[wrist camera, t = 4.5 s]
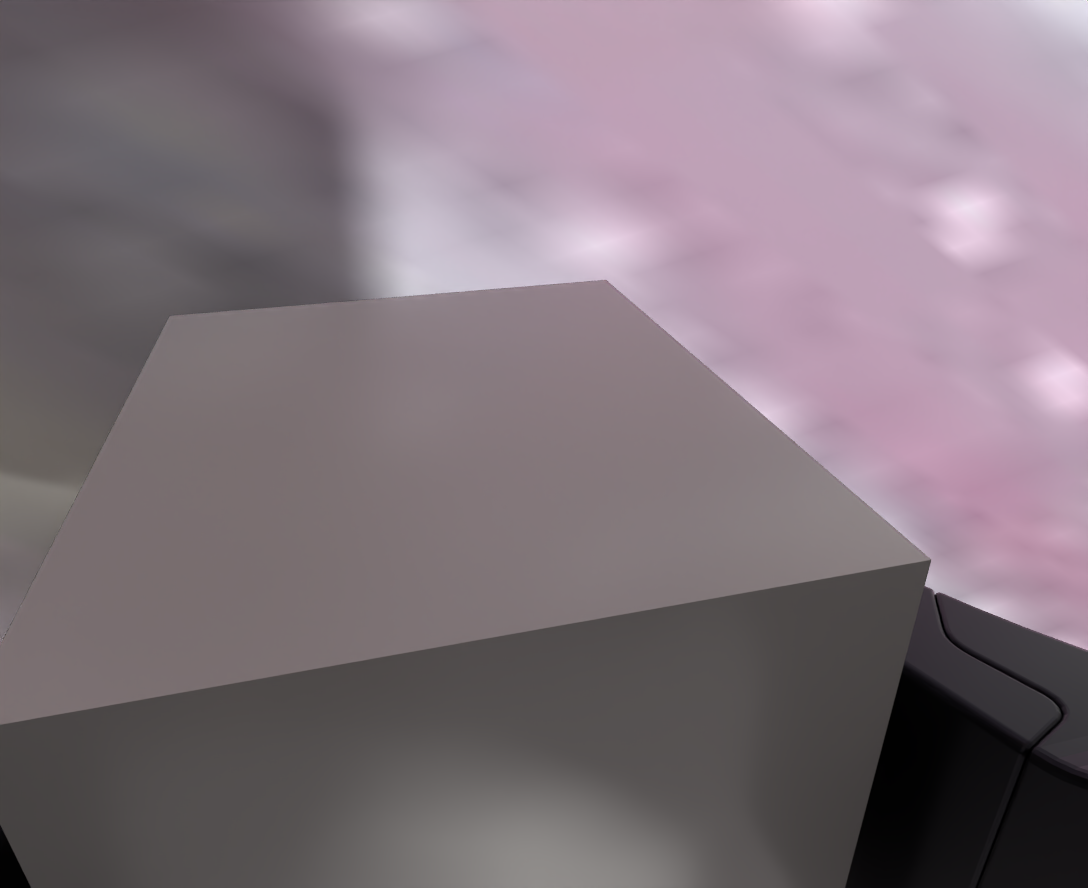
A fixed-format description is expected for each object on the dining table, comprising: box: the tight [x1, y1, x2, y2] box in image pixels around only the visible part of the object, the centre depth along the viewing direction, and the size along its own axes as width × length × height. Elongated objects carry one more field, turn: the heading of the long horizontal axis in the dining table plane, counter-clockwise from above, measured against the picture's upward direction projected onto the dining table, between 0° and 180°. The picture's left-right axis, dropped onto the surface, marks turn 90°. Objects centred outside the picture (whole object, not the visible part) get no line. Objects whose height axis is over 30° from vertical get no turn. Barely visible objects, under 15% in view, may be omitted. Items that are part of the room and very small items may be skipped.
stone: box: [0, 280, 931, 888], centre depth 8 cm, size 5×5×6 cm
